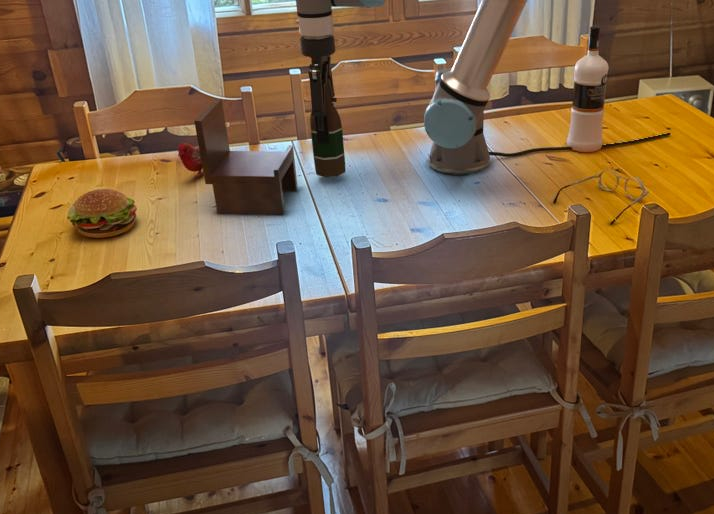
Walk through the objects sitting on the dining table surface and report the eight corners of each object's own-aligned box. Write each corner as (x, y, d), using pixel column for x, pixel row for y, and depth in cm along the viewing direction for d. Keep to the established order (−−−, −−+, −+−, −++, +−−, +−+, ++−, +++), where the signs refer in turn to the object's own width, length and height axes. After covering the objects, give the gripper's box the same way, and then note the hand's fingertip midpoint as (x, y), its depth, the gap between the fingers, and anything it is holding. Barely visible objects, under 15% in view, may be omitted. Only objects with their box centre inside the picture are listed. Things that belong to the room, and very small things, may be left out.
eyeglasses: (653, 204, 183) (656, 183, 180) (613, 225, 174) (615, 204, 171) (591, 184, 193) (593, 163, 190) (550, 203, 184) (552, 182, 181)
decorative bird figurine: (179, 187, 195) (171, 146, 189) (214, 160, 209) (208, 122, 203) (190, 188, 194) (182, 147, 188) (224, 161, 208) (218, 122, 203)
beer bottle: (341, 178, 193) (331, 75, 179) (310, 177, 194) (298, 74, 181) (350, 166, 199) (341, 65, 186) (320, 165, 200) (309, 65, 187)
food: (88, 213, 183) (79, 179, 179) (148, 215, 182) (140, 181, 177) (58, 240, 172) (48, 205, 167) (122, 242, 170) (114, 207, 166)
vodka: (580, 138, 218) (591, 20, 202) (609, 146, 213) (622, 26, 196) (559, 147, 213) (568, 26, 196) (587, 156, 208) (599, 32, 191)
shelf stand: (297, 188, 193) (287, 99, 181) (283, 215, 181) (271, 121, 169) (229, 187, 194) (215, 98, 182) (210, 213, 182) (194, 120, 170)
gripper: (309, 24, 188) (319, 122, 200) (289, 47, 171) (302, 152, 183) (341, 24, 187) (349, 122, 200) (325, 46, 170) (335, 152, 183)
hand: (327, 136), depth 192 cm, fingers closed on beer bottle, 8 cm apart
